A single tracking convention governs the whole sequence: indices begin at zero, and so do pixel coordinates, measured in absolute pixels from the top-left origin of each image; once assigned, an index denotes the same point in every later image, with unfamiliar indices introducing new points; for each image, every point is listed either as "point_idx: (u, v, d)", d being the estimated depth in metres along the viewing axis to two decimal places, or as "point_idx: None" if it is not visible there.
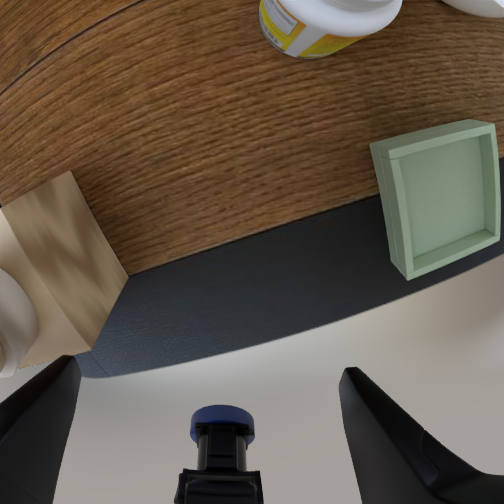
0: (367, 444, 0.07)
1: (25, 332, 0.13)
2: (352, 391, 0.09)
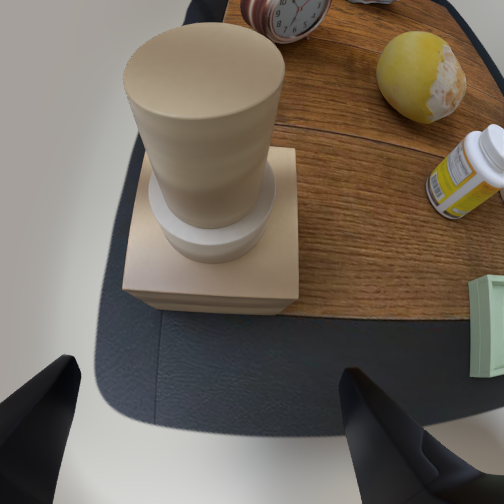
0: (367, 444, 0.07)
1: (264, 227, 0.15)
2: (352, 391, 0.09)
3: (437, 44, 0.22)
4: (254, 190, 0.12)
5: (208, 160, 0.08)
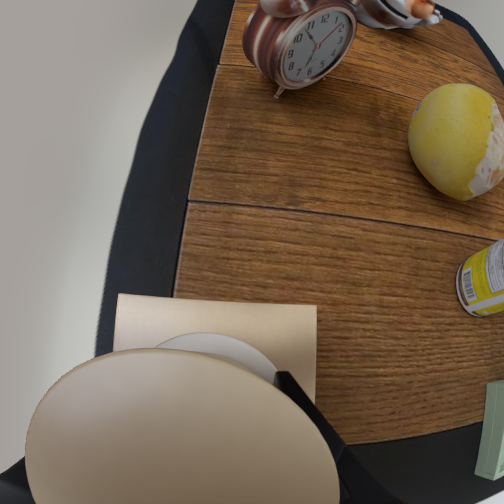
0: None
1: None
2: None
3: (486, 105, 0.18)
4: None
5: None
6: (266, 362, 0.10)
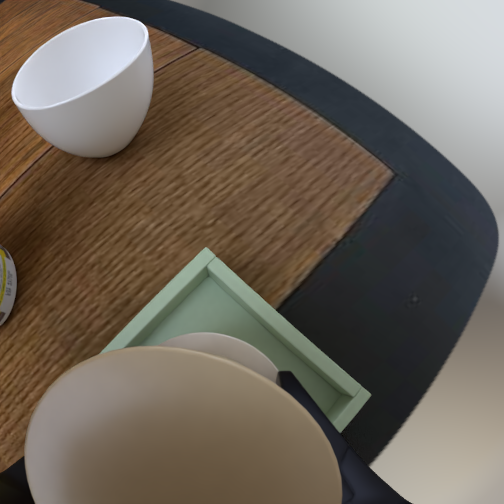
0: None
1: None
2: None
3: None
4: None
5: None
6: (267, 362, 0.10)
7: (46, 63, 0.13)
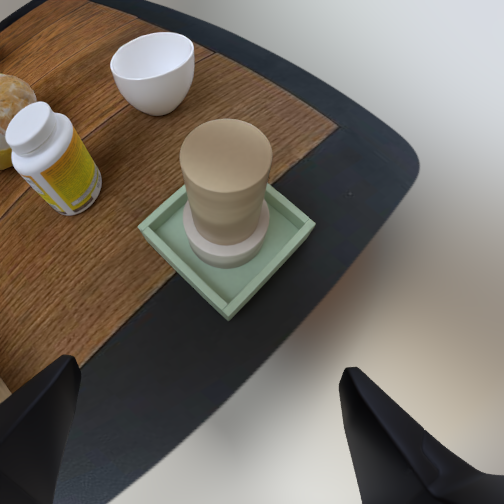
0: (367, 444, 0.07)
1: (261, 244, 0.22)
2: (352, 391, 0.09)
3: None
4: (254, 222, 0.19)
5: (229, 210, 0.16)
6: None
7: (125, 56, 0.25)
